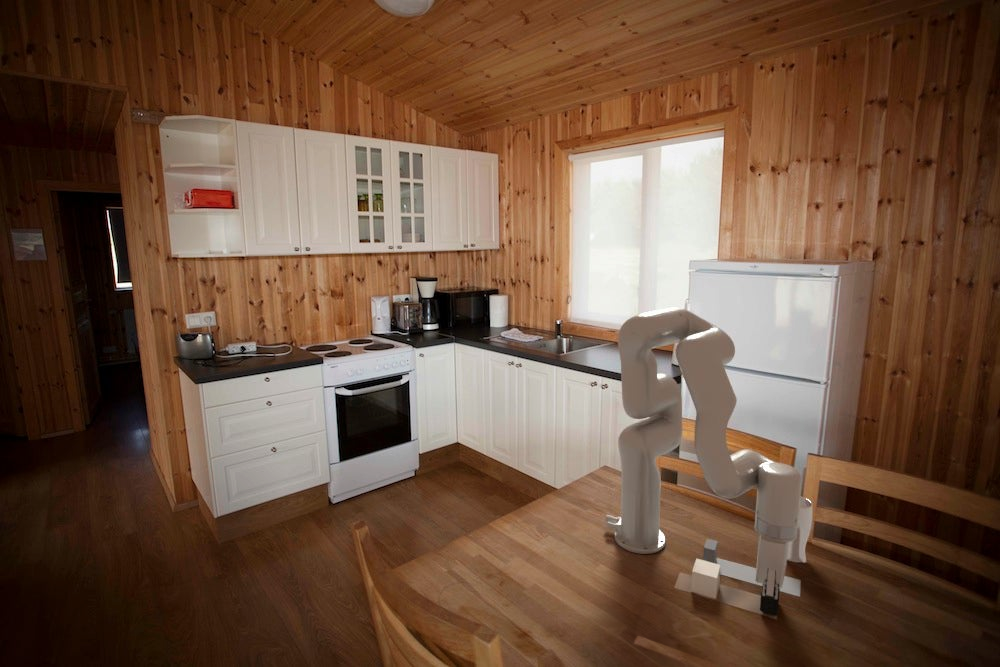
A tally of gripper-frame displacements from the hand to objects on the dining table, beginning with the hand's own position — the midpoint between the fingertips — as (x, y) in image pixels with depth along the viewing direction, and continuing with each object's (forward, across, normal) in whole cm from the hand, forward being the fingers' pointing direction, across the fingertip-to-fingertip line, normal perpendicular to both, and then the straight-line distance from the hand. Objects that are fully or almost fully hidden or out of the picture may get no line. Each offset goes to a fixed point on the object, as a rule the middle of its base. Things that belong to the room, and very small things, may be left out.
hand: (769, 604), depth 109 cm
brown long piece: (+2, 0, -8) cm, 9 cm away
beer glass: (+2, -22, +4) cm, 22 cm away
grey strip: (+2, -10, -4) cm, 11 cm away
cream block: (+1, 0, -12) cm, 13 cm away
